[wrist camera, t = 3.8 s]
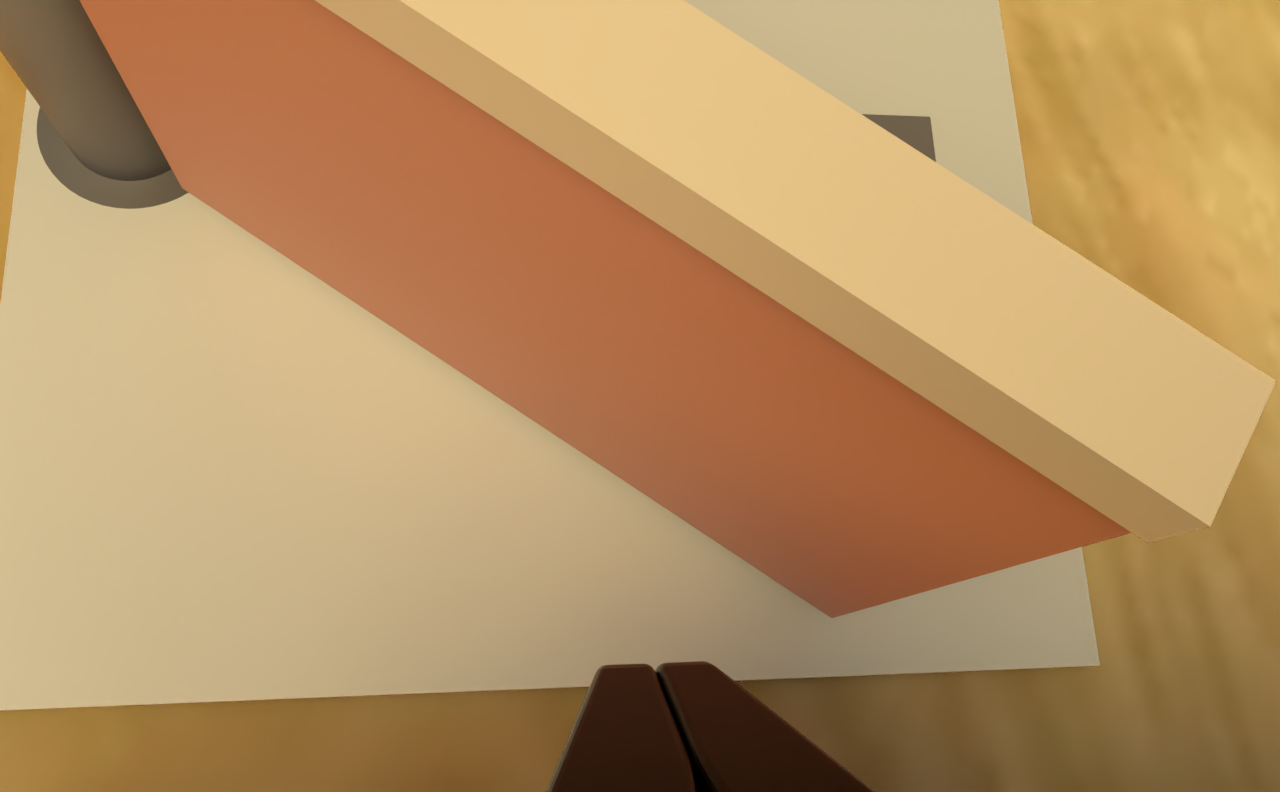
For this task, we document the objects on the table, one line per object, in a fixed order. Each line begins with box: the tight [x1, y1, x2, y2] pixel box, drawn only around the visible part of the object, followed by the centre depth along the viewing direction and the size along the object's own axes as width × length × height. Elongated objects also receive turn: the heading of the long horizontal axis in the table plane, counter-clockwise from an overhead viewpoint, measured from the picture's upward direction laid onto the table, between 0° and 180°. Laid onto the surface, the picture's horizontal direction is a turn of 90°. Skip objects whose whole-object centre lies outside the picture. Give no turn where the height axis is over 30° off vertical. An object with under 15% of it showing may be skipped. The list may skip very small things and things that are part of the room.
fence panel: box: [80, 0, 1276, 618], centre depth 11 cm, size 11×1×8 cm, turn 58°
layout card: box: [0, 0, 1100, 711], centre depth 17 cm, size 16×15×1 cm
